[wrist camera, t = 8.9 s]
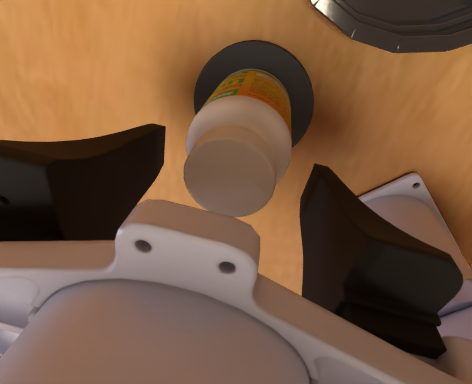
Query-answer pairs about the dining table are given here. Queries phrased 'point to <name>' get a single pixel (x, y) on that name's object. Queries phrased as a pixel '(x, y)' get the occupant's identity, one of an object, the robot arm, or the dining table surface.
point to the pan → (401, 23)
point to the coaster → (266, 60)
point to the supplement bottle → (239, 144)
